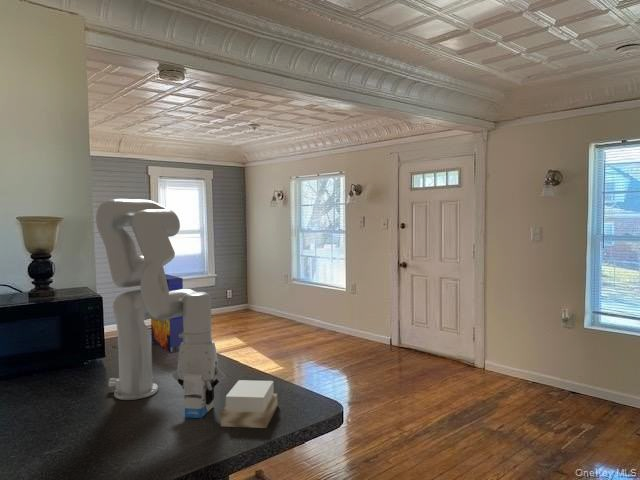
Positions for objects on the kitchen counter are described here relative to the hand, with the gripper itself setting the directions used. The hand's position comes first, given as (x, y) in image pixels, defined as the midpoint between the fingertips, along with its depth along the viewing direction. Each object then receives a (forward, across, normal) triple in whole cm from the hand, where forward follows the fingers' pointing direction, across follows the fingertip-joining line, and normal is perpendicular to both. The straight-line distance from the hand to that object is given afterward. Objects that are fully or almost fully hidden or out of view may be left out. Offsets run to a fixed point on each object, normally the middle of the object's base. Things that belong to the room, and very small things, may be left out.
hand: (199, 401), depth 127 cm
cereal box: (+3, -39, +64) cm, 75 cm away
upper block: (-1, +15, -1) cm, 15 cm away
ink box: (+3, 0, 0) cm, 3 cm away
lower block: (+3, +15, -1) cm, 15 cm away
